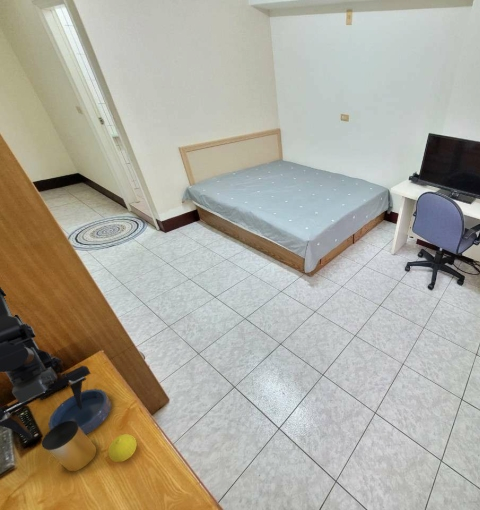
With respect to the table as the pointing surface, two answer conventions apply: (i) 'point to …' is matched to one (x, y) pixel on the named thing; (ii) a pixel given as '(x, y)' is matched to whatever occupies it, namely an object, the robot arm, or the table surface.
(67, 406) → the dish
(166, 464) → the table surface
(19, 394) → the robot arm
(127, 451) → the lemon
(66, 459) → the tin
